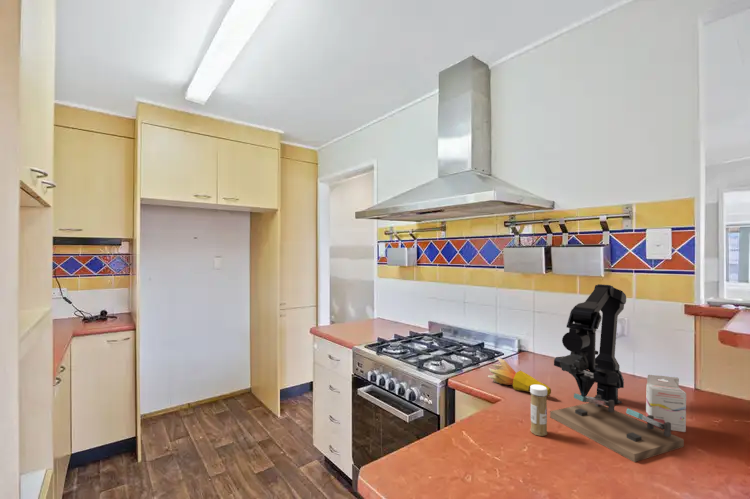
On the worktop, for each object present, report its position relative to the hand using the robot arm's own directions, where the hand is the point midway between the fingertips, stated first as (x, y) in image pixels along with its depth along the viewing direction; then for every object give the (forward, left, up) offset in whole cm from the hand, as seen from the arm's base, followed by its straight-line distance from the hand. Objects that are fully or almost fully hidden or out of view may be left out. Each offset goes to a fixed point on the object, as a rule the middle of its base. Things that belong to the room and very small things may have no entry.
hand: (583, 396), depth 113 cm
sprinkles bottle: (+20, +1, -8) cm, 21 cm away
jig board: (-1, +8, -7) cm, 11 cm away
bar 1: (-4, 0, -2) cm, 4 cm away
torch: (+1, -27, -8) cm, 28 cm away
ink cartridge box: (-19, +12, -8) cm, 24 cm away
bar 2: (-4, +16, -2) cm, 17 cm away
